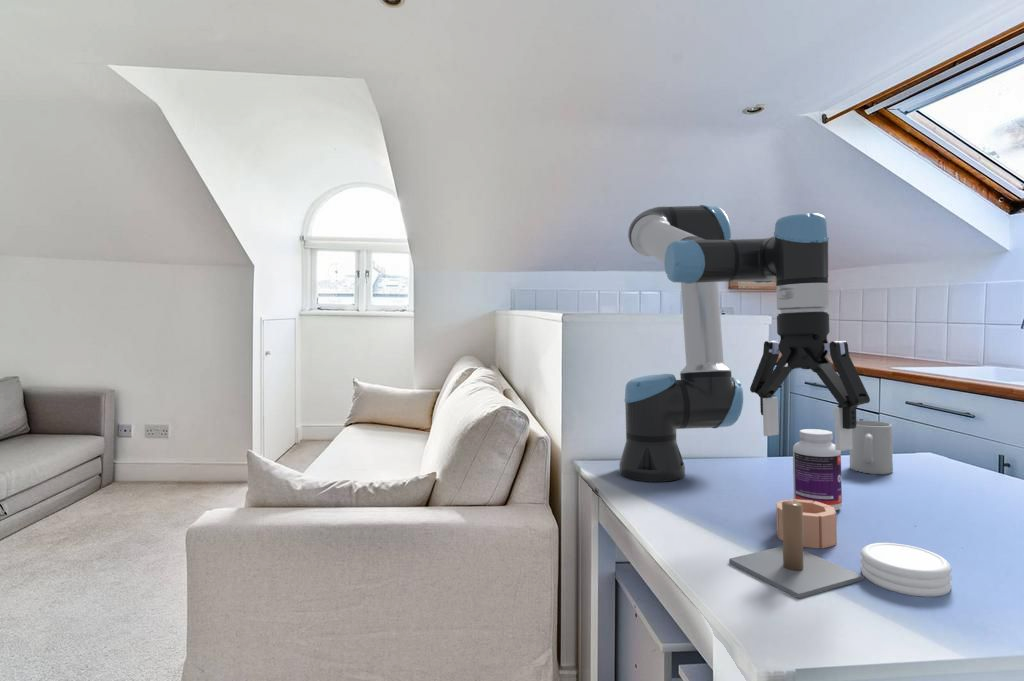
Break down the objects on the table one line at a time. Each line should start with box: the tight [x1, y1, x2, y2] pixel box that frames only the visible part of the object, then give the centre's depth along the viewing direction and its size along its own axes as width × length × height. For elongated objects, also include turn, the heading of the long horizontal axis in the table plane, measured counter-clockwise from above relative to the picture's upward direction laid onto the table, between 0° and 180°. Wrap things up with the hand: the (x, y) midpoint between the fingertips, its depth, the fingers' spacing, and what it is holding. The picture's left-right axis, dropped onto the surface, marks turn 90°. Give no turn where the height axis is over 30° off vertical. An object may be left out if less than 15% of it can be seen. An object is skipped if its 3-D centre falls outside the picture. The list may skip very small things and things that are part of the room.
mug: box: [849, 420, 894, 475], centre depth 128 cm, size 12×8×11 cm
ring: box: [776, 498, 838, 549], centre depth 90 cm, size 8×8×5 cm
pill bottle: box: [792, 428, 843, 512], centre depth 105 cm, size 8×8×14 cm
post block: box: [728, 501, 864, 599], centre depth 78 cm, size 12×12×10 cm
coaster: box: [860, 542, 953, 598], centre depth 75 cm, size 10×10×4 cm
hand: (805, 442), depth 90 cm, fingers open, 13 cm apart
